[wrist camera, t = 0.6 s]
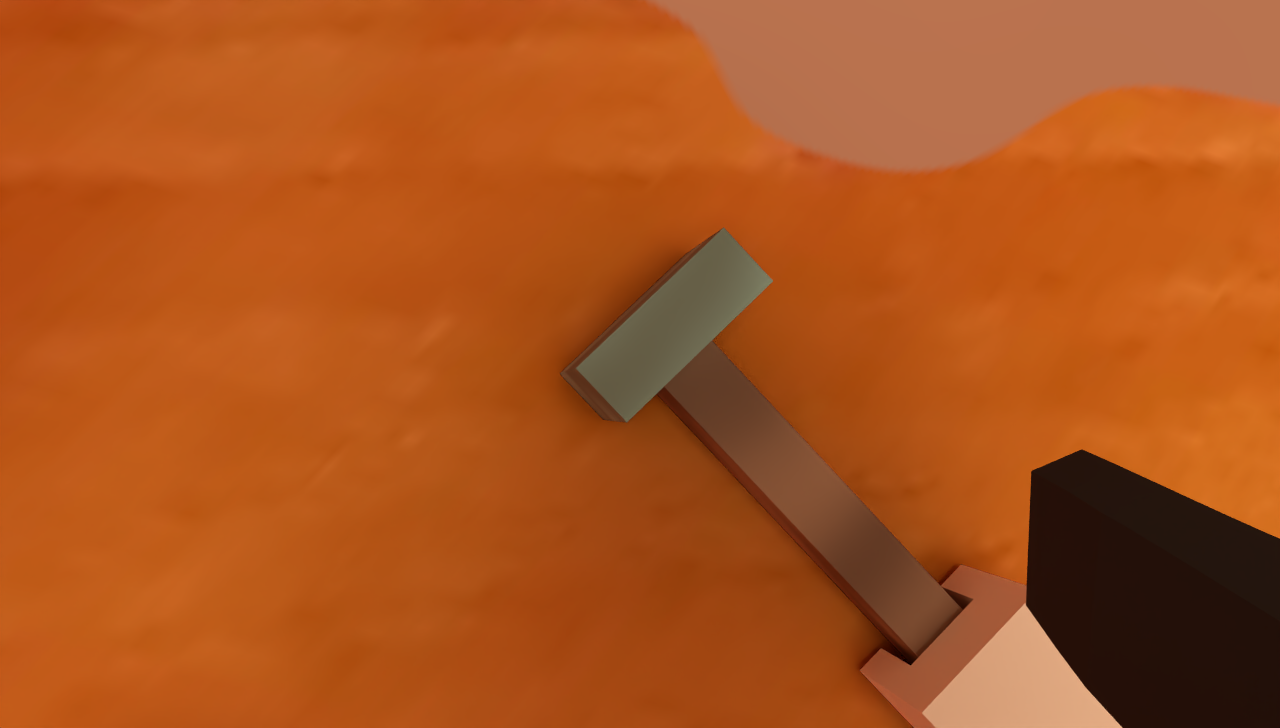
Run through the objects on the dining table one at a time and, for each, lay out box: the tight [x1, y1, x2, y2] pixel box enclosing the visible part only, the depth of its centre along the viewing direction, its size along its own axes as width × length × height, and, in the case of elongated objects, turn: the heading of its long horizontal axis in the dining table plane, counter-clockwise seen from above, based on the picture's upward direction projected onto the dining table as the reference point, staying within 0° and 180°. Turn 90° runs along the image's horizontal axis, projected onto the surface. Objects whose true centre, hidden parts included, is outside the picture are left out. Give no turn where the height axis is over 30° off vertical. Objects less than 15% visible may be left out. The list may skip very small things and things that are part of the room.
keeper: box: [860, 564, 1122, 728], centre depth 35 cm, size 5×5×5 cm
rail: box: [560, 228, 963, 665], centre depth 34 cm, size 20×6×6 cm, turn 43°
